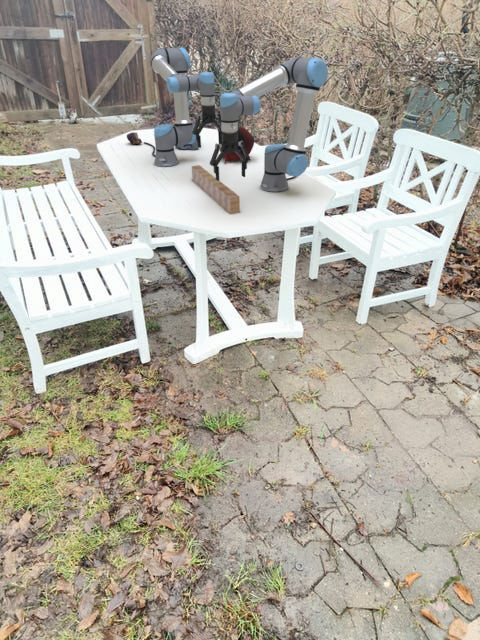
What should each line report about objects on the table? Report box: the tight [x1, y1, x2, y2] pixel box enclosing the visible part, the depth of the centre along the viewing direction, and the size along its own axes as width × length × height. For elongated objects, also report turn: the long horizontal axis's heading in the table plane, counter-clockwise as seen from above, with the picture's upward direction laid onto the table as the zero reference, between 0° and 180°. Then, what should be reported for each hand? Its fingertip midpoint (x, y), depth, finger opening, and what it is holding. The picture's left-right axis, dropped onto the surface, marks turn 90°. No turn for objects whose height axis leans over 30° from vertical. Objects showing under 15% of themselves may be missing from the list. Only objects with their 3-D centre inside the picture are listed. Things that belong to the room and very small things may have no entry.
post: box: [190, 165, 241, 214], centre depth 242 cm, size 59×5×8 cm, turn 23°
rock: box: [126, 132, 143, 145], centre depth 336 cm, size 12×9×10 cm
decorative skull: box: [217, 125, 255, 165], centre depth 297 cm, size 21×24×25 cm
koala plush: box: [175, 140, 200, 151], centre depth 323 cm, size 17×18×20 cm
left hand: (210, 145), depth 255 cm, fingers open, 13 cm apart
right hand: (230, 178), depth 217 cm, fingers open, 13 cm apart
